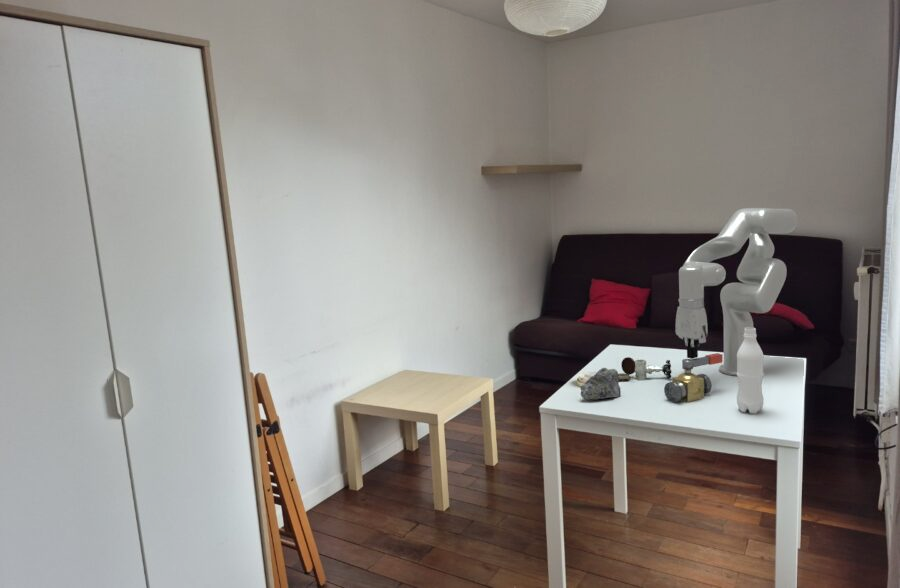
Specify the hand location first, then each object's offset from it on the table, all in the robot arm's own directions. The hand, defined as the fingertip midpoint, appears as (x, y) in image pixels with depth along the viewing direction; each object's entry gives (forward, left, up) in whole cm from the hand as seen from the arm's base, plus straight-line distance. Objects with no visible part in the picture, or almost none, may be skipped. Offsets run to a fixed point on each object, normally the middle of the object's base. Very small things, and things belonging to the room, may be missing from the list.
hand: (692, 357), depth 218 cm
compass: (+11, -20, -10) cm, 25 cm away
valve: (+4, -15, -10) cm, 19 cm away
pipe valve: (+10, +7, -10) cm, 16 cm away
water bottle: (+5, +26, -10) cm, 29 cm away
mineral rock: (+30, -11, -10) cm, 34 cm away
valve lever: (+4, +7, 0) cm, 8 cm away
